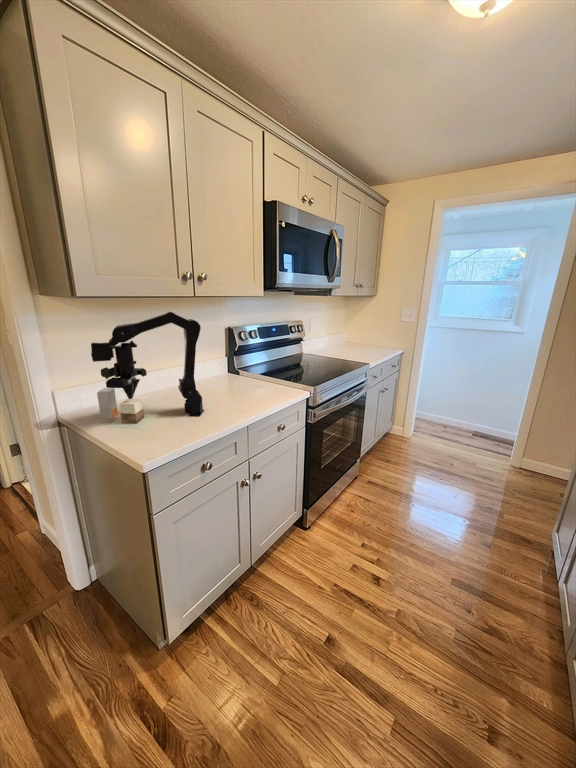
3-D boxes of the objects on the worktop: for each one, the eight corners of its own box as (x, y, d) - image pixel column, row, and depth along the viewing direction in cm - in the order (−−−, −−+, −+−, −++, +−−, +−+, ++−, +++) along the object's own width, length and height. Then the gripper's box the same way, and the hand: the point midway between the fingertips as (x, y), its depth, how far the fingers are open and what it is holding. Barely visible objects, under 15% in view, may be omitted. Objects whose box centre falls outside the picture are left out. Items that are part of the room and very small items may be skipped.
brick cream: (142, 408, 127) (141, 399, 125) (135, 413, 121) (134, 404, 120) (129, 408, 127) (127, 398, 126) (121, 413, 122) (120, 403, 120)
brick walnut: (144, 417, 128) (143, 408, 127) (137, 423, 122) (135, 414, 121) (130, 417, 128) (128, 408, 127) (121, 423, 122) (120, 413, 121)
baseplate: (158, 416, 132) (158, 414, 132) (142, 430, 118) (142, 428, 118) (125, 415, 132) (125, 413, 132) (106, 429, 119) (105, 427, 119)
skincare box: (112, 420, 127) (107, 392, 124) (101, 420, 127) (96, 392, 123) (118, 414, 133) (114, 387, 129) (108, 414, 132) (103, 387, 129)
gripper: (118, 354, 127) (123, 390, 132) (87, 364, 110) (95, 406, 114) (144, 354, 127) (149, 391, 131) (119, 365, 109) (125, 407, 114)
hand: (130, 398), depth 123 cm, fingers closed
